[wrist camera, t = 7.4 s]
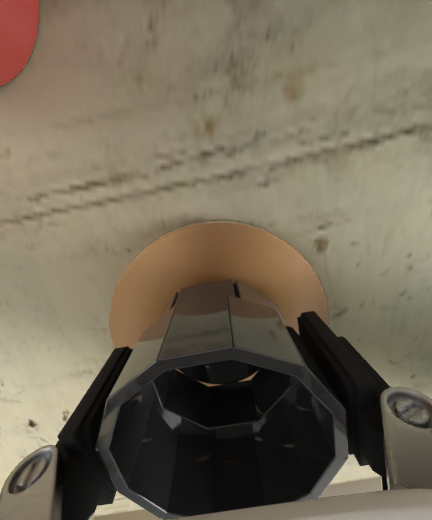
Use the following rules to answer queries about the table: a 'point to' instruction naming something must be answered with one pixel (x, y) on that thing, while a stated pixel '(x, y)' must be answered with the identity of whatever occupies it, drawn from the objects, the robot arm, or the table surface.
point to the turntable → (212, 275)
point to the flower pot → (16, 35)
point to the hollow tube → (221, 410)
